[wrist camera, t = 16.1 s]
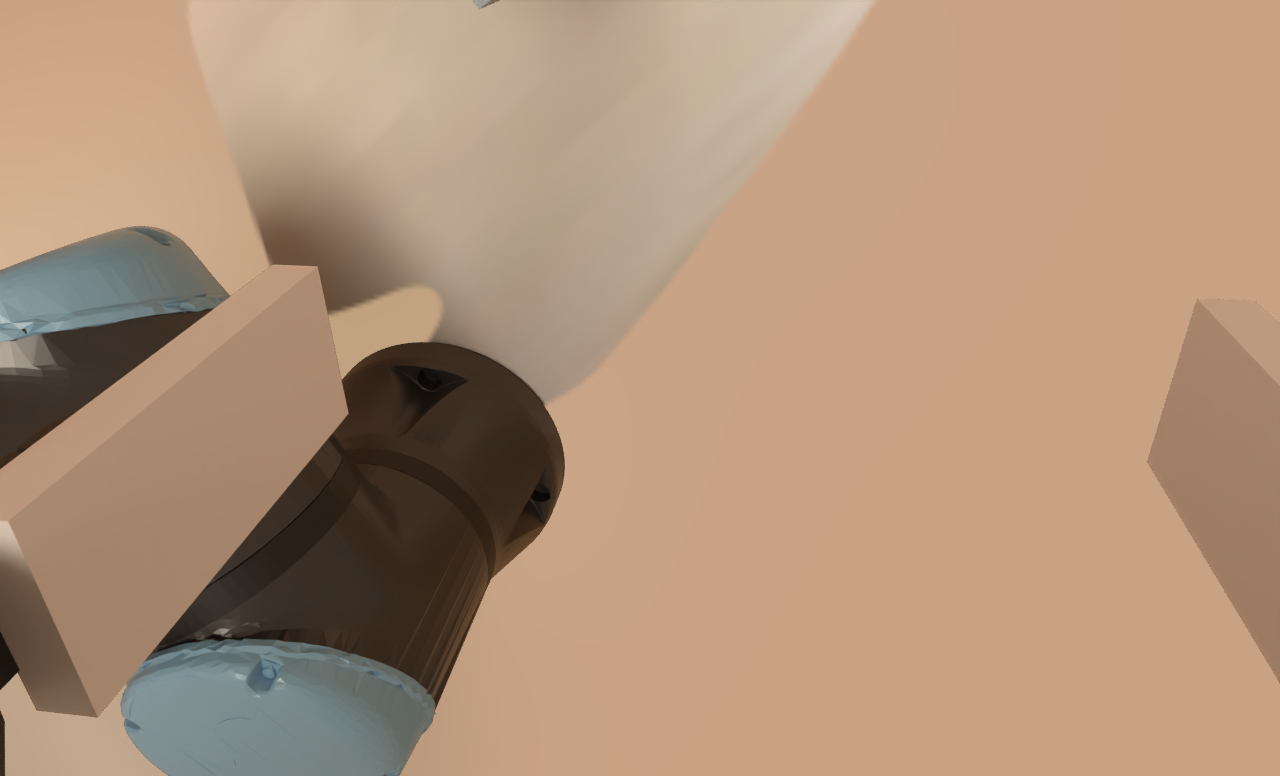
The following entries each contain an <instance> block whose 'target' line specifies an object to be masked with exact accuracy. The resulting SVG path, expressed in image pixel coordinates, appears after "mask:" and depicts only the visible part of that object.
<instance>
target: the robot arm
mask: <svg viewBox="0 0 1280 776" xmlns="http://www.w3.org/2000/svg"><path fill="white" fill-rule="evenodd" d="M1147 463H1148V464H1149V466H1150V468H1151V469H1152V471H1153V473H1154V474H1155V476H1156V477H1157V479H1158V481H1159V483H1160V484H1161V486H1162V488H1163V489H1164V491H1165V493H1166V494H1167V496H1168V498H1169V499H1170V501H1171V503H1172V504H1173V506H1174V507H1175V509H1176V511H1177V513H1178V514H1179V516H1180V518H1181V519H1182V521H1183V523H1184V524H1185V526H1186V528H1187V529H1188V531H1189V532H1190V534H1191V536H1192V537H1193V539H1194V541H1195V543H1196V544H1197V546H1198V547H1199V549H1200V551H1201V552H1202V554H1203V556H1204V558H1205V559H1206V561H1207V563H1208V564H1209V566H1210V567H1211V569H1212V571H1213V572H1214V574H1215V576H1216V578H1217V579H1218V581H1219V583H1220V584H1221V586H1222V587H1223V589H1224V591H1225V593H1226V594H1227V596H1228V597H1229V599H1230V601H1231V602H1232V604H1233V606H1234V607H1235V609H1236V611H1237V612H1238V614H1239V616H1240V617H1241V619H1242V621H1243V622H1244V624H1245V626H1246V627H1247V629H1248V631H1249V632H1250V634H1251V636H1252V637H1253V639H1254V641H1255V642H1256V644H1257V646H1258V647H1259V649H1260V651H1261V652H1262V654H1263V656H1264V657H1265V659H1266V661H1267V662H1268V664H1269V666H1270V667H1271V669H1272V671H1273V672H1274V674H1275V676H1276V677H1277V679H1278V681H1279V682H1280V322H1278V321H1277V320H1276V319H1275V318H1274V317H1273V316H1272V315H1271V314H1270V313H1269V312H1268V311H1267V310H1265V309H1264V308H1263V307H1262V306H1261V305H1260V304H1259V303H1258V302H1257V301H1246V300H1245V301H1244V300H1220V299H1218V300H1217V299H1197V300H1196V304H1195V307H1194V310H1193V313H1192V317H1191V320H1190V323H1189V326H1188V330H1187V333H1186V336H1185V339H1184V343H1183V346H1182V349H1181V353H1180V356H1179V359H1178V362H1177V366H1176V369H1175V372H1174V375H1173V379H1172V382H1171V385H1170V389H1169V392H1168V395H1167V398H1166V402H1165V405H1164V408H1163V411H1162V415H1161V418H1160V421H1159V424H1158V428H1157V431H1156V434H1155V438H1154V441H1153V444H1152V448H1151V451H1150V454H1149V457H1148V460H1147ZM564 470H565V465H564V452H563V447H562V443H561V439H560V436H559V433H558V431H557V428H556V426H555V424H554V422H553V420H552V418H551V417H550V415H549V413H548V411H547V410H546V408H545V407H544V405H543V404H542V403H541V401H540V400H539V399H538V398H537V396H536V395H535V394H534V393H533V392H532V391H531V390H530V389H529V388H528V387H527V386H526V385H525V384H524V383H523V382H522V381H521V380H520V379H519V378H517V377H516V376H515V375H513V374H512V373H511V372H509V371H508V370H506V369H505V368H504V367H502V366H500V365H499V364H497V363H495V362H494V361H492V360H490V359H488V358H486V357H484V356H481V355H479V354H477V353H474V352H472V351H469V350H466V349H462V348H459V347H455V346H451V345H445V344H439V343H425V342H420V343H406V344H400V345H395V346H391V347H388V348H385V349H382V350H380V351H377V352H375V353H373V354H371V355H370V356H368V357H366V358H365V359H363V360H362V361H361V362H359V363H358V364H357V365H356V366H354V367H353V368H352V369H351V371H350V372H349V373H348V374H347V375H346V376H345V377H344V378H343V379H342V380H341V376H340V370H339V366H338V361H337V356H336V352H335V347H334V342H333V337H332V332H331V328H330V323H329V318H328V313H327V309H326V304H325V299H324V294H323V290H322V285H321V280H320V275H319V271H318V266H297V265H272V266H270V267H269V268H268V269H267V270H265V271H264V272H263V273H261V274H260V275H259V276H257V277H256V278H255V279H253V280H252V281H250V282H249V283H248V284H246V285H245V286H244V287H242V288H241V289H240V290H239V291H237V292H236V293H234V294H233V295H232V296H230V295H229V294H228V293H227V292H226V291H225V290H224V288H223V287H222V286H221V285H220V284H219V283H218V282H217V280H216V279H215V278H214V277H213V276H212V274H211V273H210V272H209V271H208V270H207V268H206V267H205V266H204V265H203V264H202V262H201V261H200V260H199V259H198V257H197V256H196V255H195V254H194V252H193V251H192V250H191V249H190V248H189V247H188V246H187V245H186V244H185V243H184V242H183V241H182V240H181V239H180V238H178V237H177V236H175V235H173V234H171V233H170V232H167V231H164V230H162V229H159V228H154V227H146V226H134V227H127V228H122V229H118V230H114V231H110V232H107V233H104V234H101V235H97V236H94V237H91V238H87V239H84V240H82V241H79V242H76V243H73V244H70V245H67V246H64V247H61V248H59V249H56V250H53V251H50V252H47V253H45V254H42V255H39V256H36V257H34V258H31V259H29V260H26V261H23V262H20V263H18V264H15V265H13V266H10V267H8V268H5V269H2V270H0V690H1V689H2V688H3V687H4V686H5V685H6V684H7V683H8V682H9V681H10V680H11V678H12V677H13V676H14V675H15V674H16V673H17V672H18V674H19V676H20V678H21V680H22V682H23V684H24V686H25V688H26V690H27V692H28V694H29V696H30V698H31V700H32V702H33V704H34V706H35V708H36V710H38V711H47V712H55V713H64V714H73V715H82V716H90V717H98V716H99V715H100V714H101V713H102V712H103V711H104V709H105V708H106V707H107V706H108V704H109V703H110V702H111V701H112V700H113V698H114V697H115V696H116V695H117V694H118V692H119V691H120V690H121V689H122V687H123V686H124V685H125V684H126V683H127V687H126V689H125V691H124V693H123V696H122V700H121V712H122V715H123V717H124V718H125V721H124V726H125V729H126V732H127V734H128V736H129V738H130V739H131V741H132V742H133V744H135V746H136V747H137V748H138V750H139V751H140V752H141V753H142V754H143V755H144V756H145V757H146V758H147V759H148V760H149V761H150V762H151V763H152V764H153V765H155V766H156V767H157V768H159V769H160V770H161V771H162V772H164V773H165V774H167V775H168V776H399V775H400V774H401V772H402V770H403V768H404V767H405V765H406V763H407V761H408V759H409V757H410V755H411V753H412V752H413V750H414V748H415V746H416V744H417V742H418V740H419V739H420V736H421V735H422V734H423V733H424V732H425V731H426V730H427V729H428V727H429V726H430V725H431V723H432V721H433V717H434V714H435V709H436V707H437V705H438V702H439V700H440V698H441V695H442V693H443V690H444V688H445V686H446V683H447V681H448V678H449V676H450V674H451V672H452V669H453V667H454V664H455V662H456V660H457V657H458V655H459V653H460V650H461V648H462V646H463V643H464V641H465V638H466V636H467V634H468V631H469V629H470V627H471V624H472V622H473V620H474V617H475V615H476V613H477V610H478V608H479V606H480V603H481V601H482V598H483V596H484V594H485V591H486V589H487V587H488V585H489V582H490V580H491V578H492V577H494V576H495V575H496V574H497V573H498V572H499V571H500V570H502V569H503V568H504V567H505V566H506V565H507V564H508V563H509V562H510V561H511V560H513V559H514V558H515V557H516V556H517V555H518V554H519V553H520V552H522V551H523V550H524V549H525V548H526V547H527V546H528V545H529V544H530V543H532V542H533V541H534V540H535V538H536V537H537V536H538V535H539V534H540V532H541V531H542V530H543V528H544V527H545V525H546V524H547V522H548V520H549V518H550V516H551V514H552V512H553V509H554V507H555V504H556V502H557V499H558V497H559V494H560V491H561V488H562V484H563V479H564ZM0 776H5V721H4V719H3V716H2V714H1V711H0Z"/></svg>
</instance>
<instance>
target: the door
mask: <svg viewBox="0 0 1280 776" xmlns="http://www.w3.org/2000/svg"><path fill="white" fill-rule="evenodd" d="M497 1H499V0H473V2H474V3H475V5H476V6H477V8H478V9H481V8H483V7H485V6H488V5H490V4H492V3H495V2H497Z"/></svg>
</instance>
